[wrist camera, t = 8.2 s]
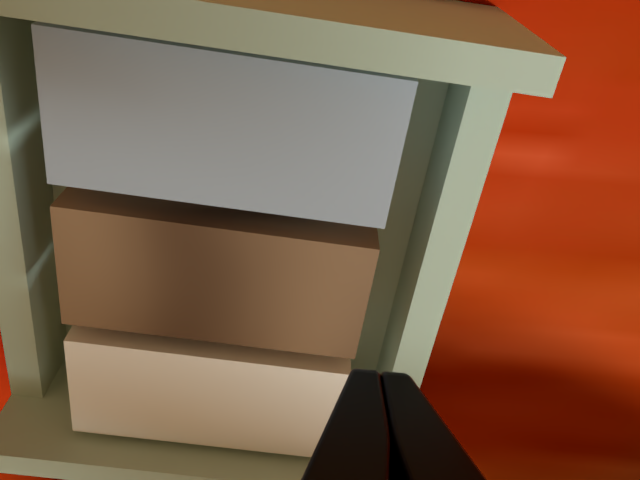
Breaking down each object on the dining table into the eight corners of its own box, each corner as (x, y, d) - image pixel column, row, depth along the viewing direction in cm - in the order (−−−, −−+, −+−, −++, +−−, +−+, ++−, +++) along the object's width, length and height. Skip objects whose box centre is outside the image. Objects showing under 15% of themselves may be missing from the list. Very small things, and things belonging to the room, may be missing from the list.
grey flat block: (406, 55, 14) (418, 81, 12) (378, 187, 16) (384, 228, 14) (73, 4, 14) (30, 24, 12) (83, 146, 16) (47, 183, 14)
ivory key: (349, 323, 19) (351, 375, 17) (331, 404, 21) (331, 459, 19) (92, 291, 18) (63, 340, 16) (97, 377, 20) (72, 430, 18)
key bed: (497, 6, 16) (566, 57, 11) (390, 387, 23) (405, 516, 19) (5, -71, 15) (-141, -51, 11) (53, 347, 23) (-22, 470, 18)
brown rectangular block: (374, 206, 17) (380, 250, 15) (352, 308, 18) (354, 359, 16) (84, 167, 16) (49, 206, 14) (91, 275, 18) (61, 323, 16)
